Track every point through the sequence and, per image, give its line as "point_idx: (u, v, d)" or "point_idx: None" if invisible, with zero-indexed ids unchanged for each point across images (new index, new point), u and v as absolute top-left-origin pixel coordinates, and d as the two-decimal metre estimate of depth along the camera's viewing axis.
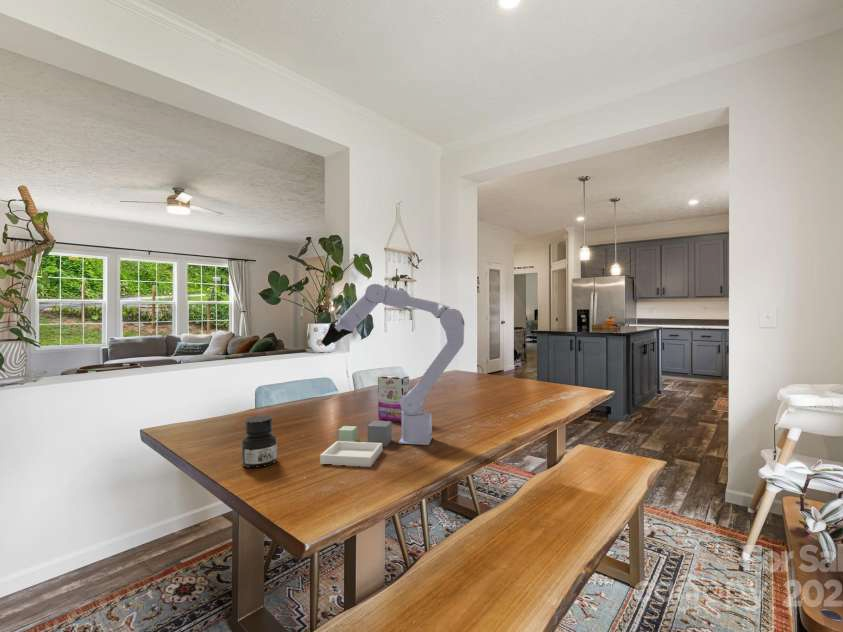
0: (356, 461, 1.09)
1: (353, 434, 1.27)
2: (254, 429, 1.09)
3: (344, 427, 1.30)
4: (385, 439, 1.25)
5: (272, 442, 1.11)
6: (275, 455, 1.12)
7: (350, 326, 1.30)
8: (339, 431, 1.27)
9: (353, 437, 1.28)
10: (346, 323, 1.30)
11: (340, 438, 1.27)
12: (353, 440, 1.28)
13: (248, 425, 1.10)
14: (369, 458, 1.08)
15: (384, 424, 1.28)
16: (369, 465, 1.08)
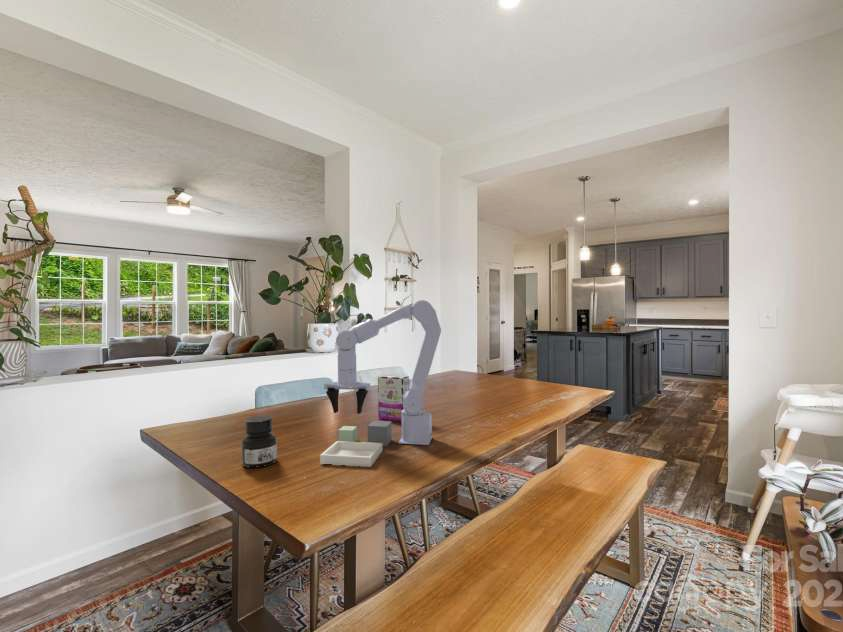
0: (356, 461, 1.09)
1: (353, 434, 1.27)
2: (254, 429, 1.09)
3: (344, 427, 1.30)
4: (385, 439, 1.25)
5: (272, 442, 1.11)
6: (275, 455, 1.12)
7: None
8: (339, 431, 1.27)
9: (353, 437, 1.28)
10: (356, 381, 1.29)
11: (340, 438, 1.27)
12: (353, 440, 1.28)
13: (248, 425, 1.10)
14: (369, 458, 1.08)
15: (384, 424, 1.28)
16: (369, 465, 1.08)
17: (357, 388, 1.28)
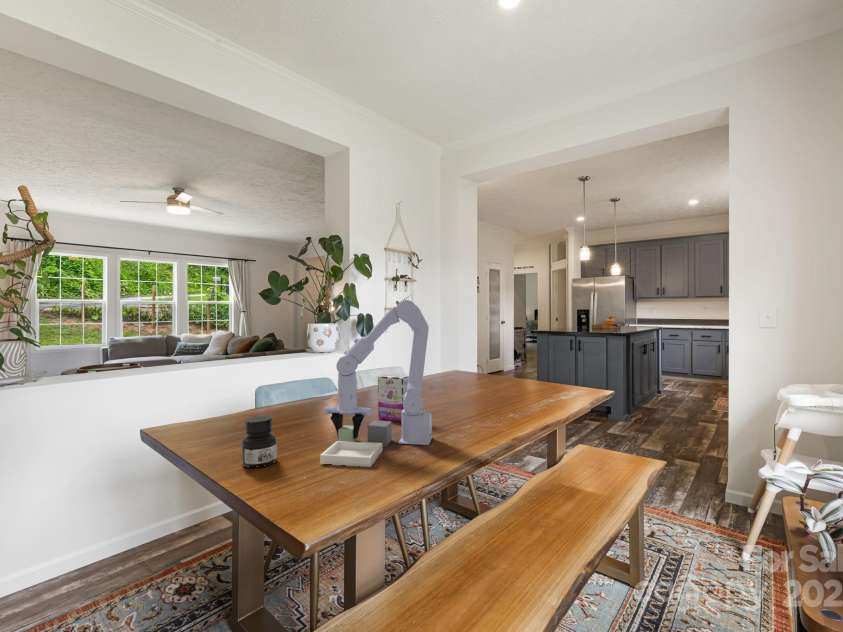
0: (356, 461, 1.09)
1: None
2: (254, 429, 1.09)
3: (344, 427, 1.30)
4: (385, 439, 1.25)
5: (272, 442, 1.11)
6: (275, 455, 1.12)
7: None
8: (339, 431, 1.27)
9: (353, 436, 1.28)
10: (356, 406, 1.29)
11: (340, 438, 1.27)
12: (353, 440, 1.28)
13: (248, 425, 1.10)
14: (369, 458, 1.08)
15: (384, 424, 1.28)
16: (369, 465, 1.08)
17: (357, 413, 1.28)
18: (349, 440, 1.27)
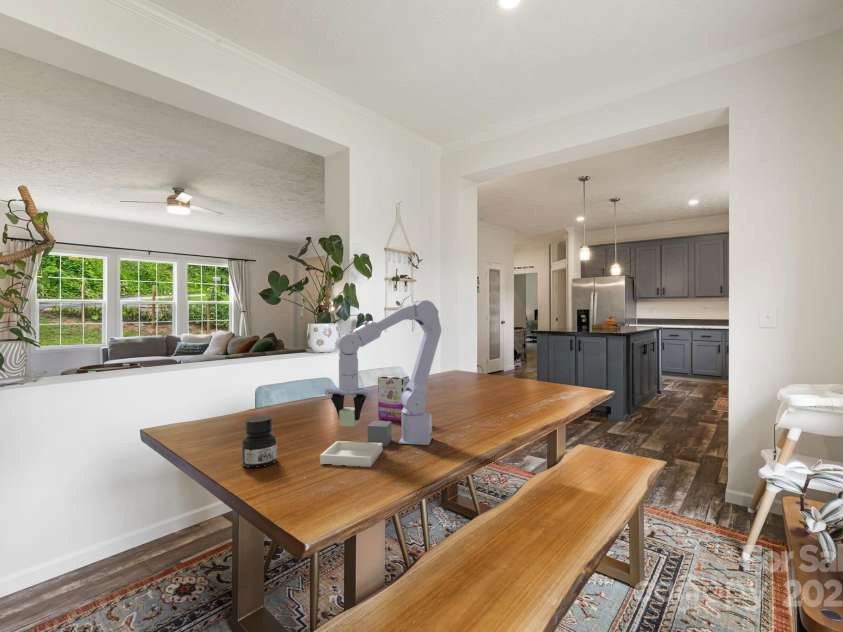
0: (356, 461, 1.09)
1: (354, 415, 1.22)
2: (254, 429, 1.09)
3: (345, 408, 1.25)
4: (385, 439, 1.25)
5: (272, 442, 1.11)
6: (275, 455, 1.12)
7: None
8: (340, 412, 1.23)
9: (354, 418, 1.23)
10: (358, 387, 1.24)
11: (341, 419, 1.23)
12: (354, 421, 1.23)
13: (248, 425, 1.10)
14: (369, 458, 1.08)
15: (384, 424, 1.28)
16: (369, 465, 1.08)
17: (359, 394, 1.23)
18: (350, 421, 1.22)
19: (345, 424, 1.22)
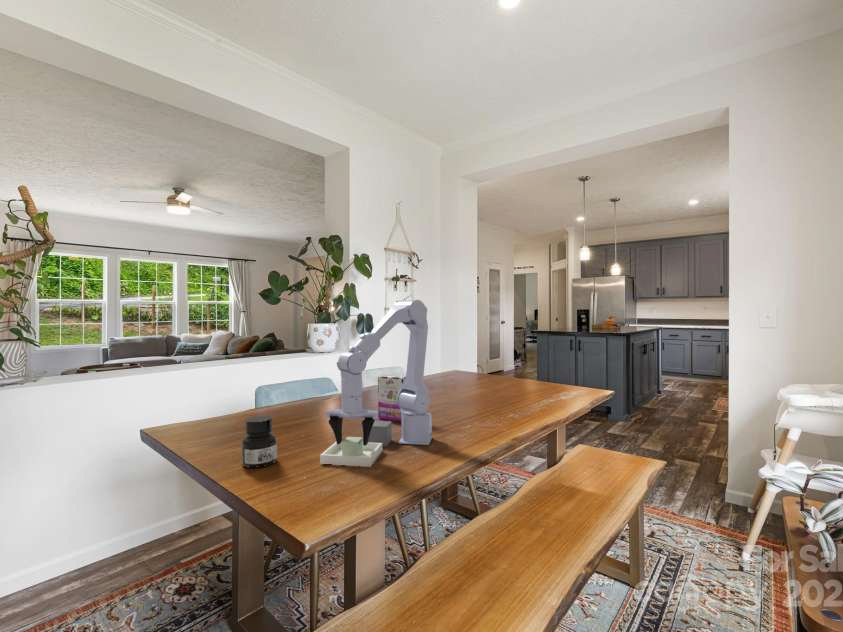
0: (356, 461, 1.09)
1: (358, 446, 1.13)
2: (254, 429, 1.09)
3: (348, 438, 1.16)
4: (385, 439, 1.25)
5: (272, 442, 1.11)
6: (275, 455, 1.12)
7: None
8: (343, 443, 1.14)
9: (359, 449, 1.14)
10: (362, 409, 1.15)
11: (344, 451, 1.14)
12: (358, 453, 1.14)
13: (248, 425, 1.10)
14: (369, 458, 1.08)
15: (384, 424, 1.28)
16: (369, 465, 1.08)
17: (363, 417, 1.14)
18: (354, 453, 1.13)
19: None
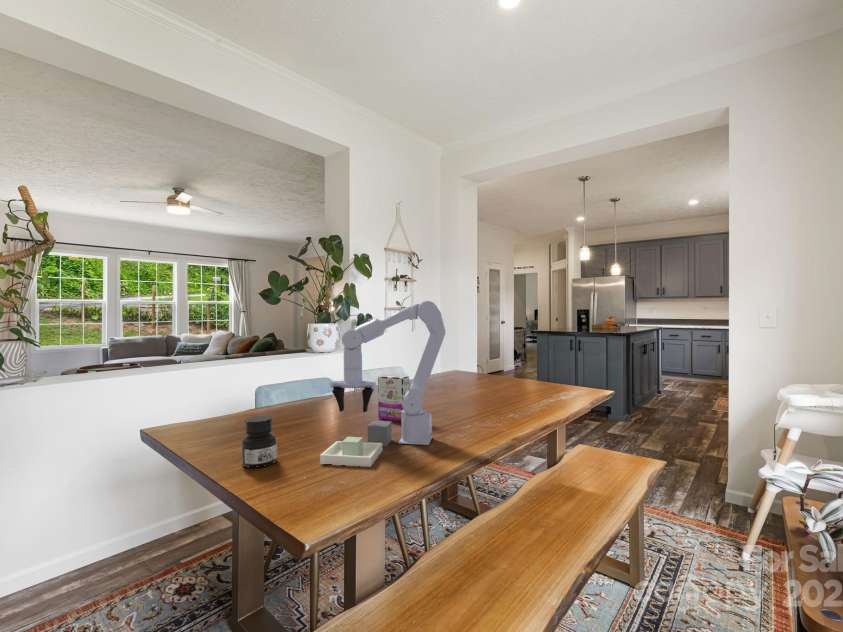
0: (356, 461, 1.09)
1: (358, 446, 1.13)
2: (254, 429, 1.09)
3: (348, 438, 1.16)
4: (385, 439, 1.25)
5: (272, 442, 1.11)
6: (275, 455, 1.12)
7: None
8: (343, 443, 1.14)
9: (359, 449, 1.14)
10: None
11: (344, 451, 1.14)
12: (358, 453, 1.14)
13: (248, 425, 1.10)
14: (369, 458, 1.08)
15: (384, 424, 1.28)
16: (369, 465, 1.08)
17: (363, 387, 1.29)
18: (354, 453, 1.13)
19: None
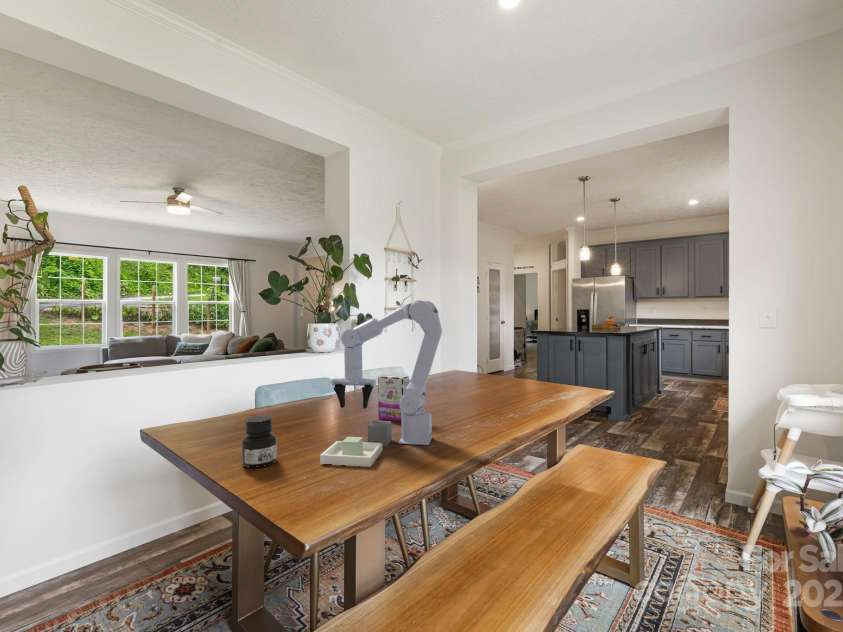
0: (356, 461, 1.09)
1: (358, 446, 1.13)
2: (254, 429, 1.09)
3: (348, 438, 1.16)
4: (385, 439, 1.25)
5: (272, 442, 1.11)
6: (275, 455, 1.12)
7: None
8: (343, 443, 1.14)
9: (359, 449, 1.14)
10: (362, 378, 1.35)
11: (344, 451, 1.14)
12: (358, 453, 1.14)
13: (248, 425, 1.10)
14: (369, 458, 1.08)
15: (384, 424, 1.28)
16: (369, 465, 1.08)
17: (363, 384, 1.34)
18: (354, 453, 1.13)
19: None
